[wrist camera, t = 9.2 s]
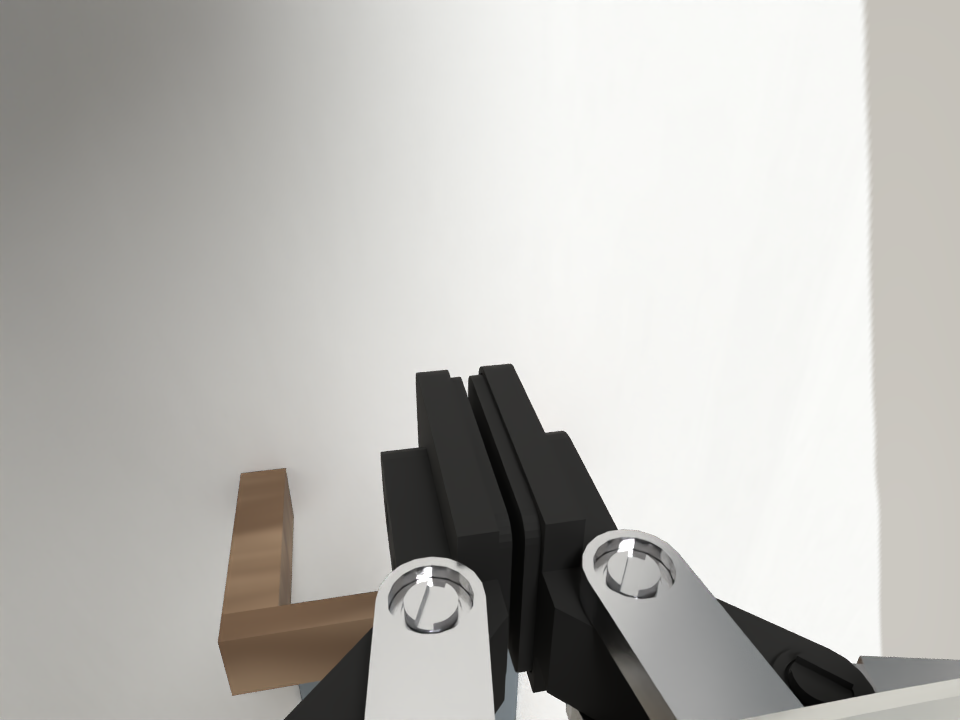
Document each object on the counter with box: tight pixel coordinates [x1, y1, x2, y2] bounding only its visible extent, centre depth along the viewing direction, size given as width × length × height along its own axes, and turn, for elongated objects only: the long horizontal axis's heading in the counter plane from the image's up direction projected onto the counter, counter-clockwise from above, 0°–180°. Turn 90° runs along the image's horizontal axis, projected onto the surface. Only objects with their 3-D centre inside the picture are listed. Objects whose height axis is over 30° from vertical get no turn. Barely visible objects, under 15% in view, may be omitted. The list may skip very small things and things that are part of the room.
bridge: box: [218, 468, 378, 696], centre depth 31 cm, size 3×15×9 cm, turn 90°
